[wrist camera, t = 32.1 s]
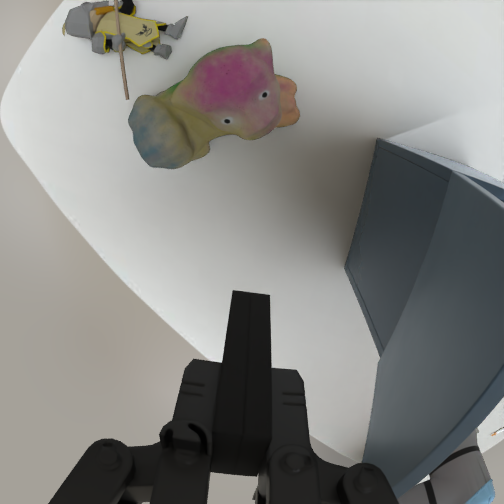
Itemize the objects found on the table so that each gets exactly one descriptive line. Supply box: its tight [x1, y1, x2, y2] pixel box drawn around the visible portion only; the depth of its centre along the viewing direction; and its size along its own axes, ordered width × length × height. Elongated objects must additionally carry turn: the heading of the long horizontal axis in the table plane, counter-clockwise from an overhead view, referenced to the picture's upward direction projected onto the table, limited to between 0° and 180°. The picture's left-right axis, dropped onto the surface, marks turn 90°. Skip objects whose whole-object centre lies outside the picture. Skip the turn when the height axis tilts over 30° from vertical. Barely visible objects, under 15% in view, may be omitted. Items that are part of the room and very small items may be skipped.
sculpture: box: [128, 38, 300, 169], centre depth 23 cm, size 15×8×10 cm, turn 117°
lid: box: [362, 171, 504, 499], centre depth 13 cm, size 13×15×1 cm
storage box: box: [344, 138, 504, 358], centre depth 25 cm, size 12×15×14 cm
